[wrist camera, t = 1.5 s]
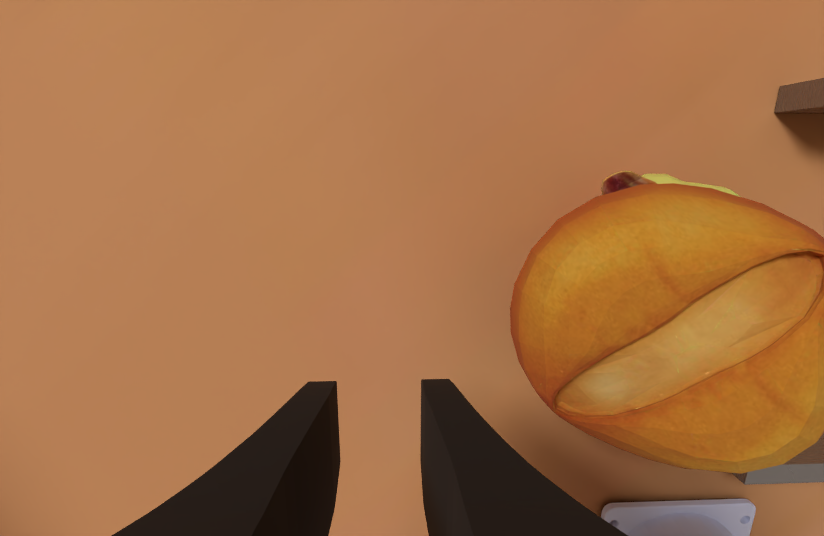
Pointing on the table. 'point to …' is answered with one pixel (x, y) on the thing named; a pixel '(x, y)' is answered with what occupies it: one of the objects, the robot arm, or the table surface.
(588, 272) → the cheeseburger
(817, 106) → the rack
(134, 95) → the table surface
